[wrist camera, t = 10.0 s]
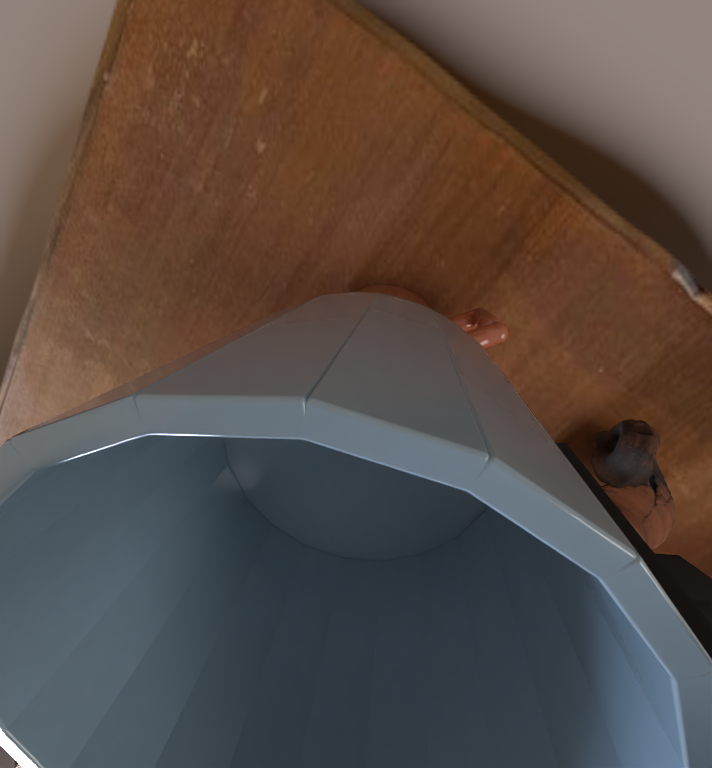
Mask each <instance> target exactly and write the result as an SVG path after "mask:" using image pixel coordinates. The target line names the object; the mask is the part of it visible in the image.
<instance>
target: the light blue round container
mask: <svg viewBox="0 0 712 768" xmlns="http://www.w3.org/2000/svg"><path fill="white" fill-rule="evenodd" d="M0 745H1V746H2V747H3V748H4V749H5V750H6V751H7V752H8V753H9V754H10V755H11V756H12V757H13V758H14V759H15V760H16V761H17V762H18V763H19V764H20V765H21V766H22V767H23V768H712V658H711V657H710V656H709V654H708V653H707V651H706V650H705V648H704V647H703V645H702V644H701V643H700V641H699V640H698V638H697V637H696V635H695V634H694V632H693V631H692V630H691V628H690V627H689V625H688V624H687V622H686V621H685V619H684V618H683V617H682V615H681V614H680V612H679V611H678V609H677V608H676V606H675V605H674V603H673V602H672V601H671V599H670V598H669V596H668V595H667V593H666V592H665V590H664V589H663V588H662V586H661V585H660V583H659V582H658V580H657V579H656V577H655V576H654V575H653V573H652V572H651V570H650V569H649V567H648V566H647V564H646V563H645V562H644V560H643V559H642V557H641V556H640V555H639V553H638V552H637V551H636V549H635V548H634V547H633V545H632V544H631V543H630V541H629V540H628V539H627V537H626V536H625V535H624V533H623V532H622V531H621V529H620V528H619V527H618V525H617V524H616V523H615V521H614V520H613V519H612V517H611V516H610V515H609V514H608V512H607V511H606V510H605V508H604V507H603V506H602V504H601V503H600V502H599V500H598V499H597V498H596V496H595V495H594V494H593V492H592V491H591V490H590V488H589V487H588V486H587V484H586V483H585V482H584V480H583V479H582V478H581V476H580V475H579V474H578V472H577V471H576V470H575V468H574V467H573V466H572V465H571V463H570V462H569V461H568V459H567V458H566V457H565V455H564V454H563V453H562V451H561V450H560V449H559V447H558V446H557V445H556V443H555V442H554V441H553V439H552V438H551V437H550V435H549V434H548V433H547V431H546V430H545V429H544V427H543V426H542V425H541V423H540V422H539V421H538V419H537V418H536V417H535V415H534V414H533V413H532V412H531V410H530V409H529V408H528V406H527V405H526V404H525V402H524V401H523V400H522V398H521V397H520V396H519V394H518V393H517V392H516V390H515V389H514V388H513V386H512V385H511V384H510V382H509V381H508V380H507V378H506V377H505V376H504V374H503V373H502V372H501V370H500V369H499V368H498V366H497V365H496V364H495V363H494V361H493V360H492V359H491V357H490V356H489V355H488V353H487V352H486V351H485V349H484V348H483V347H482V345H481V344H480V343H479V342H478V341H477V340H475V339H474V338H472V337H471V336H470V335H468V334H467V333H466V332H465V331H464V330H463V329H462V328H460V327H459V326H458V325H457V324H455V323H454V322H452V321H451V320H449V319H447V318H446V317H444V316H443V315H441V314H440V313H438V312H436V311H434V310H432V309H429V308H427V307H425V306H423V305H421V304H419V303H416V302H412V301H409V300H406V299H403V298H400V297H396V296H390V295H385V294H379V293H367V292H347V293H337V294H329V295H320V296H318V297H315V298H312V299H309V300H306V301H304V302H301V303H299V304H296V305H294V306H291V307H289V308H286V309H283V310H281V311H278V312H275V313H273V314H271V315H269V316H267V317H265V318H263V319H260V320H258V321H256V322H254V323H252V324H250V325H248V326H246V327H243V328H241V329H239V330H237V331H235V332H233V333H231V334H229V335H227V336H224V337H222V338H220V339H218V340H216V341H214V342H212V343H210V344H208V345H205V346H203V347H201V348H199V349H197V350H195V351H193V352H191V353H188V354H186V355H184V356H182V357H180V358H178V359H176V360H174V361H172V362H169V363H167V364H165V365H163V366H161V367H159V368H157V369H155V370H152V371H150V372H148V373H146V374H144V375H142V376H140V377H138V378H136V379H133V380H131V381H129V382H127V383H125V384H123V385H121V386H119V387H117V388H114V389H112V390H110V391H108V392H106V393H104V394H102V395H100V396H97V397H95V398H93V399H91V400H89V401H87V402H85V403H83V404H81V405H78V406H76V407H74V408H72V409H70V410H68V411H66V412H64V413H61V414H59V415H57V416H55V417H53V418H51V419H49V420H47V421H45V422H42V423H40V424H38V425H36V426H34V427H32V428H30V429H28V430H26V431H23V432H21V433H19V434H17V435H15V436H13V437H12V438H11V439H8V440H7V441H6V442H5V443H4V444H3V445H2V446H1V447H0Z"/></svg>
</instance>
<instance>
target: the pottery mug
mask: <svg viewBox="0 0 712 768" xmlns="http://www.w3.org/2000/svg"><path fill="white" fill-rule="evenodd" d="M593 437H594V443H595V448H594V449H593V456H592V458H591V463H592V466H593V468H594V472H595V474H596V476H597V477H598V478H599V479H600V480H601V481H602V482H604V483H606V484H607V485H604V486H601V488H602V489H603V490H604V491H605V493H606V494H607V495H608V496H609V497H610V499H611V500H612V501H613V502H614V504H615V505H616V506H617V507H618V509H619V510H620V511H621V512H622V514H623V515H624V516H625V517H626V519H627V520H628V521H629V522H630V524H631V525H632V526H633V527H634V528H635V530H636V531H637V532H638V533H639V535H640V536H641V537H642V538H643V540H644V541H645V542H646V543H647V545H648V546H649V547H650V548H651V550H653V549H654V548H657V547H659V546H660V545H661V544H662V543H663V542H664V541H665V540H666V539H667V537H668V536H669V534H670V531H671V528H672V525H673V522H674V513H675V511H674V503H673V499H672V496H671V493H670V491H669V489H668V487H667V484H666V482H665V480H664V477H663V475H662V473H661V471H660V469H659V467H658V464H657V461H656V459H655V457H654V456H655V454H656V450H657V448H658V445H659V444H660V436H659V434H658V432H657V431H656V430H655V429H654V428H652V427H651V426H650V425H649V424H647V423H646V422H645V421H636V420H631V419H630V420H625V421H622V422H619V423H618V424H617V425H615V427H613V428H612V429H611V430H610V431H603V432H598V433H595V434H593Z"/></svg>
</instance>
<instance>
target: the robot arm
mask: <svg viewBox="0 0 712 768" xmlns="http://www.w3.org/2000/svg"><path fill="white" fill-rule="evenodd" d="M556 445H557V446H558V447H559V449H560V450H561V451H562V453H563V454H564V455H565V457H566V458H567V459H568V461H569V462H570V463H571V465H572V466H573V467H574V468H575V470H576V471H577V472H578V474H579V475H580V476H581V478H582V479H583V480H584V482H585V483H586V484H587V486H588V487H589V488H590V490H591V491H592V492H593V494H594V495H595V496H596V498H597V499H598V500H599V502H600V503H601V504H602V506H603V507H604V508H605V510H606V511H607V512H608V514H609V515H610V516H611V517H612V519H613V520H614V521H615V523H616V524H617V525H618V527H619V528H620V529H621V531H622V532H623V533H624V535H625V536H626V537H627V539H628V540H629V541H630V543H631V544H632V545H633V547H634V548H635V549H636V551H637V552H638V553H639V555H640V556H641V557H642V559H643V560H644V562H645V563H646V564H647V566H648V567H649V569H650V570H651V572H652V573H653V575H654V576H655V577H656V579H657V580H658V582H659V583H660V585H661V586H662V588H663V589H664V590H665V592H666V593H667V595H668V596H669V598H670V599H671V601H672V602H673V603H674V605H675V606H676V608H677V609H678V611H679V612H680V614H681V615H682V617H683V618H684V619H685V621H686V622H687V624H688V625H689V627H690V628H691V630H692V631H693V632H694V634H695V635H696V637H697V638H698V640H699V641H700V643H701V644H702V645H703V647H704V648H705V650H706V651H707V653H708V654H709V656H710V657H711V658H712V580H711V579H710V577H708V576H707V575H706V574H704V573H703V572H701V571H700V570H699V569H697V568H696V567H694V566H693V565H692V564H690V563H689V562H687V561H686V560H685V559H683V558H682V557H680V556H679V555H666V554H655V553H654V552H653V551H652V550H651V548H650V547H649V546H648V545H647V543H646V542H645V541H644V540H643V538H642V537H641V536H640V535H639V533H638V532H637V531H636V530H635V528H634V527H633V526H632V525H631V524H630V522H629V521H628V520H627V519H626V517H625V516H624V515H623V514H622V512H621V511H620V510H619V509H618V507H617V506H616V505H615V504H614V502H613V501H612V500H611V499H610V497H609V496H608V495H607V494H606V493H605V491H604V490H603V489H602V488H601V486H600V485H599V484H598V483H597V481H596V480H595V479H594V478H593V476H592V475H591V474H590V473H589V471H588V470H587V469H586V468H585V466H584V465H583V464H582V463H581V461H580V460H579V459H578V458H577V457H576V455H575V454H574V453H573V452H572V450H571V449H570V448H569V447H568V445H567V444H566V443H556ZM18 764H19V763H18V762H17V761H16V760H15V759H14V758H13V757H12V756H11V755H10V754H9V753H8V752H7V751H6V750H5V749H4V748H3V747H2V746H1V745H0V768H15V767H16V766H17V765H18Z"/></svg>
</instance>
